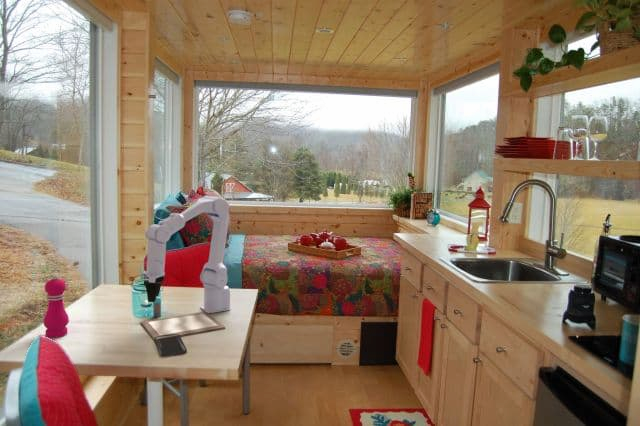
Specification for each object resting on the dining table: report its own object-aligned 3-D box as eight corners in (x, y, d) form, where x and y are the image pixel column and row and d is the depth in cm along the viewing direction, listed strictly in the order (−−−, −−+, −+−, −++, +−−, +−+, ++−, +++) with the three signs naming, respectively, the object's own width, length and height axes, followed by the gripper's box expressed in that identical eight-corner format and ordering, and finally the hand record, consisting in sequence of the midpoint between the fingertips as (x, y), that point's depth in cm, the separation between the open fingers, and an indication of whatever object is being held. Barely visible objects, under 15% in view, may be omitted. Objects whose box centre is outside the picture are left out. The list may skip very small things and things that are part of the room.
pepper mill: (73, 333, 160) (72, 274, 157) (52, 340, 154) (50, 278, 151) (60, 328, 163) (59, 270, 161) (39, 335, 157) (37, 274, 155)
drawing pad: (206, 313, 185) (206, 311, 185) (225, 328, 170) (225, 326, 170) (140, 323, 171) (140, 321, 171) (155, 341, 156) (155, 338, 156)
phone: (178, 333, 162) (187, 351, 148) (178, 337, 162) (187, 354, 148) (154, 336, 158) (160, 354, 145) (154, 340, 158) (160, 358, 145)
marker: (159, 314, 181) (159, 296, 180) (161, 316, 179) (161, 298, 178) (152, 315, 180) (152, 297, 179) (154, 317, 177) (154, 299, 177)
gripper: (147, 255, 173) (144, 293, 174) (140, 262, 158) (137, 303, 159) (168, 256, 174) (165, 294, 175) (162, 264, 160) (159, 304, 161)
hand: (153, 298), depth 167 cm, fingers open, 7 cm apart
